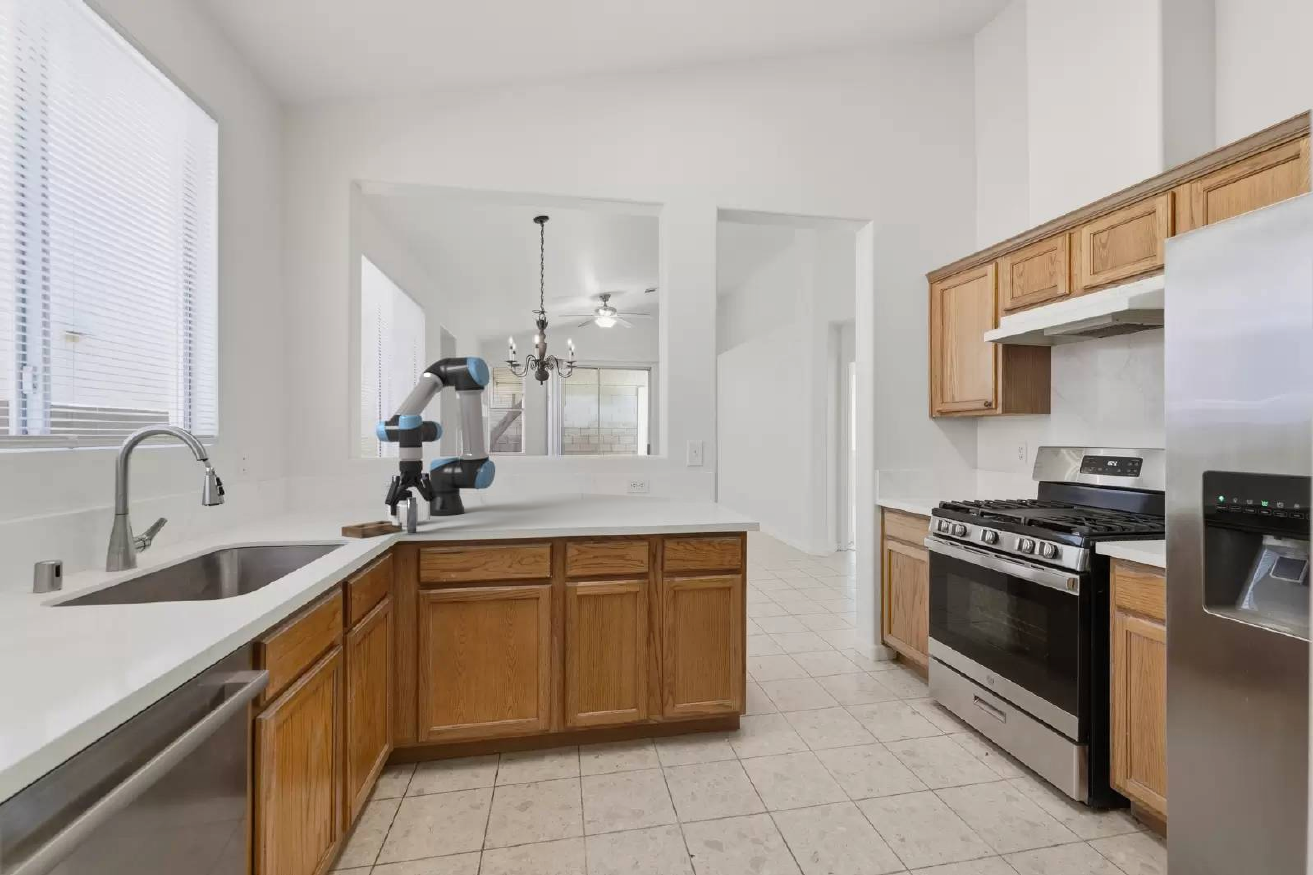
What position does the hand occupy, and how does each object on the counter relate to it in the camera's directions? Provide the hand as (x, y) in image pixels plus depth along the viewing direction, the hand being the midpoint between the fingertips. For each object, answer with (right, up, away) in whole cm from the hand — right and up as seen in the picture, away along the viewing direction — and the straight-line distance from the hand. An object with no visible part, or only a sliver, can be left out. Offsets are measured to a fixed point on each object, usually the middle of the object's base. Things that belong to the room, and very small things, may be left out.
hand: (411, 522), depth 215 cm
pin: (0, -3, 0) cm, 3 cm away
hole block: (-13, -4, -1) cm, 13 cm away
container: (-10, -3, +16) cm, 19 cm away
